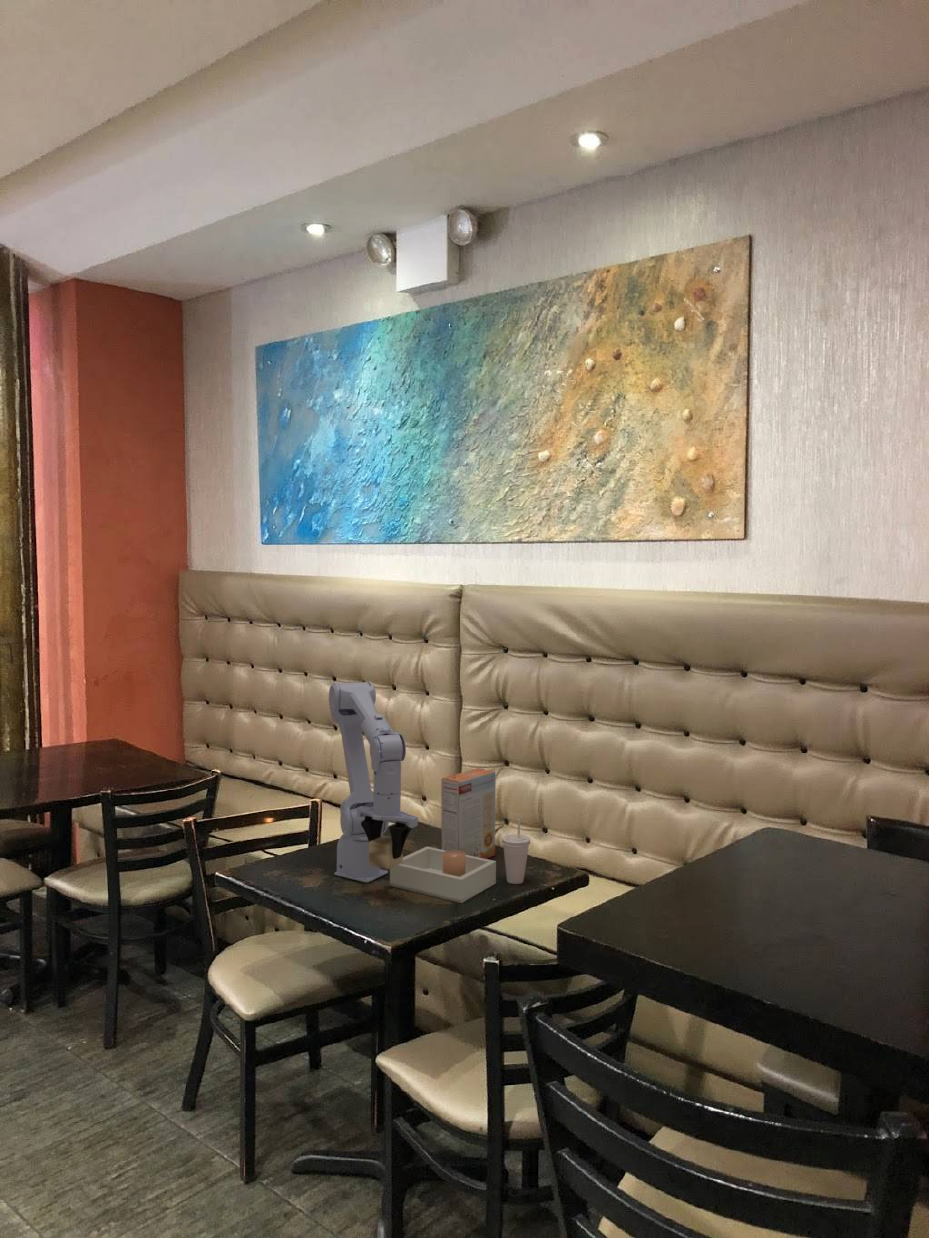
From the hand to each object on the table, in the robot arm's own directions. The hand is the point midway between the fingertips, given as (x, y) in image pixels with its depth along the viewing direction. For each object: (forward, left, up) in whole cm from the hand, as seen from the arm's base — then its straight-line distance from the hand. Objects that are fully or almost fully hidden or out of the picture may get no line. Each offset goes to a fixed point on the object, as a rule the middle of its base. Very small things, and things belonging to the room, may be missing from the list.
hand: (386, 855), depth 201 cm
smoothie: (+18, +24, -9) cm, 31 cm away
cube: (0, 0, -2) cm, 2 cm away
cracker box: (+2, +30, -9) cm, 31 cm away
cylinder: (+9, +13, -8) cm, 18 cm away
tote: (+6, +13, -9) cm, 17 cm away
